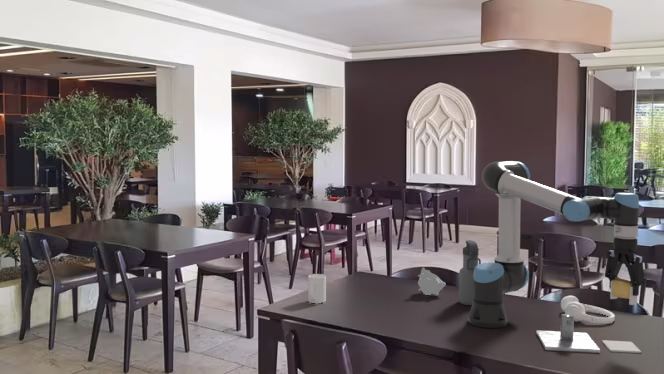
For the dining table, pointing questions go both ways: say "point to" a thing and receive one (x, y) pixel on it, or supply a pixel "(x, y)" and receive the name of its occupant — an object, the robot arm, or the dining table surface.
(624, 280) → the cap
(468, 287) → the water bottle
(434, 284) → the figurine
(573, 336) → the post fixture
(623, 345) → the mat
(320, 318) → the dining table surface
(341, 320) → the dining table surface
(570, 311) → the headphones
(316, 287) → the pale gray rounded block
